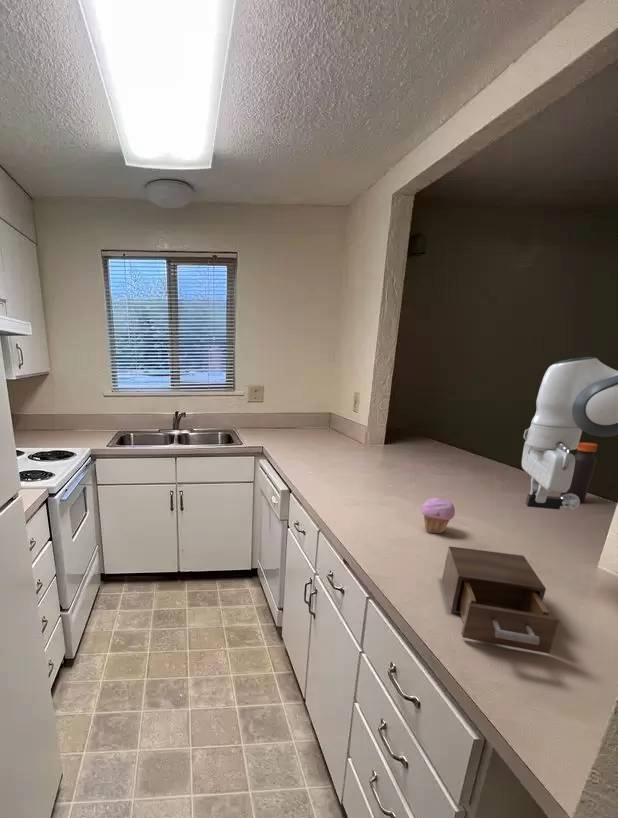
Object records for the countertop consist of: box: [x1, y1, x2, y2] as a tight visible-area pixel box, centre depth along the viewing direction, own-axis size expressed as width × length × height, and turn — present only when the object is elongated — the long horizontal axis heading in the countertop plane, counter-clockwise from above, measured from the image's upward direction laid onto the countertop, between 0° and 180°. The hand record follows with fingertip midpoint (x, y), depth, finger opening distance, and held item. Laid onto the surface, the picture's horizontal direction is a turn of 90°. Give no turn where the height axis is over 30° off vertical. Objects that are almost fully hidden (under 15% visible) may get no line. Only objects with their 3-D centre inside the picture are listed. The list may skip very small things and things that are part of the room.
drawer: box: [457, 580, 560, 654], centre depth 80 cm, size 18×13×7 cm
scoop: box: [524, 493, 581, 511], centre depth 96 cm, size 4×9×4 cm, turn 69°
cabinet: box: [441, 545, 547, 616], centre depth 91 cm, size 15×15×9 cm
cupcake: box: [421, 497, 456, 534], centre depth 126 cm, size 9×9×10 cm
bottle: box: [559, 442, 599, 504], centre depth 148 cm, size 7×7×20 cm
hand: (537, 499), depth 97 cm, fingers closed on scoop, 2 cm apart
